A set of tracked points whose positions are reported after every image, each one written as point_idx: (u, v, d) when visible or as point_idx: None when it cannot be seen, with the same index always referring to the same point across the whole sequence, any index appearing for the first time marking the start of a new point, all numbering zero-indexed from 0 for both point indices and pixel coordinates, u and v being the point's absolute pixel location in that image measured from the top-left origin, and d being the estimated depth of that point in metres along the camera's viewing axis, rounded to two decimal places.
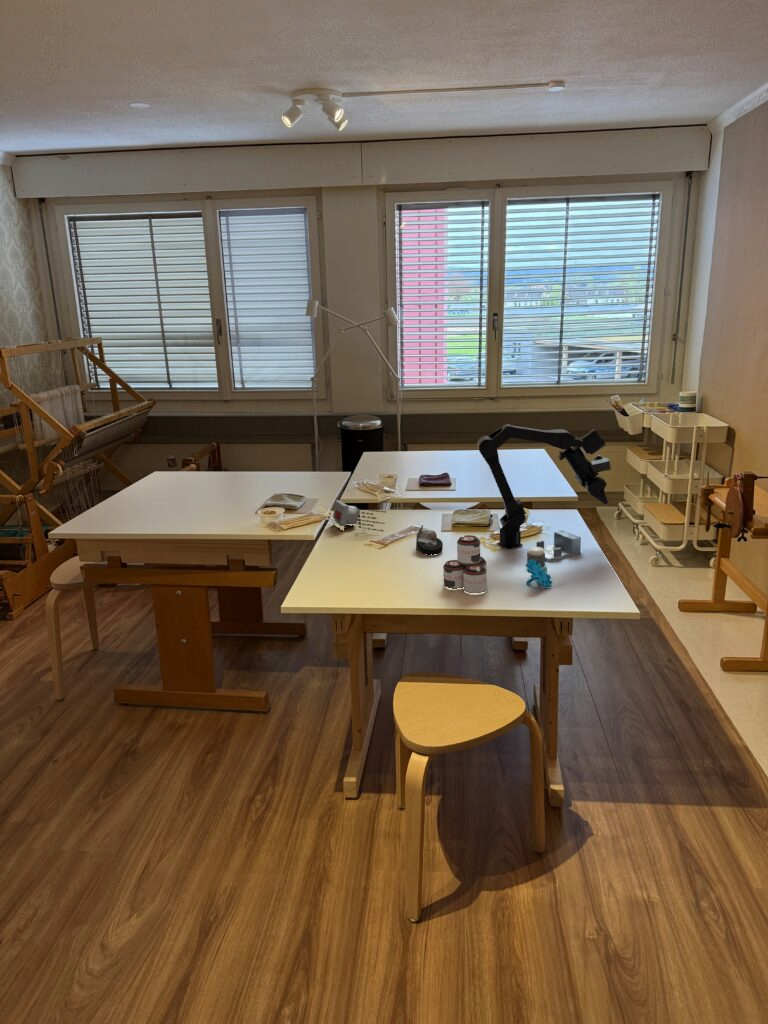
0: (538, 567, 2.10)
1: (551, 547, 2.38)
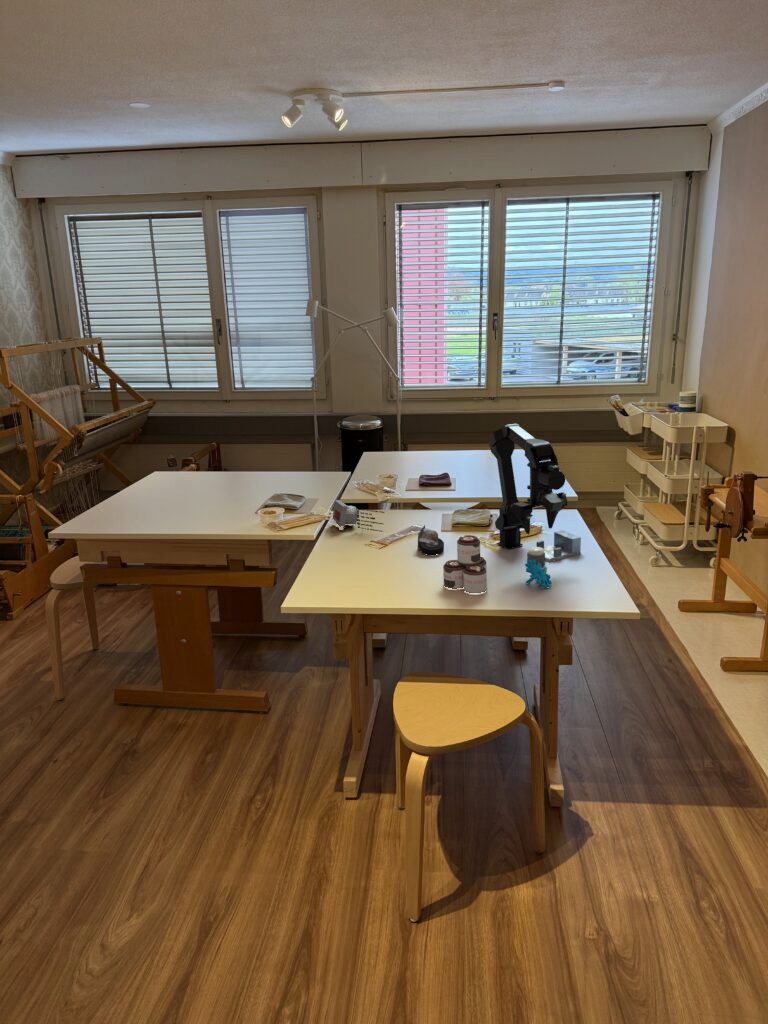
0: (538, 567, 2.10)
1: (551, 547, 2.38)
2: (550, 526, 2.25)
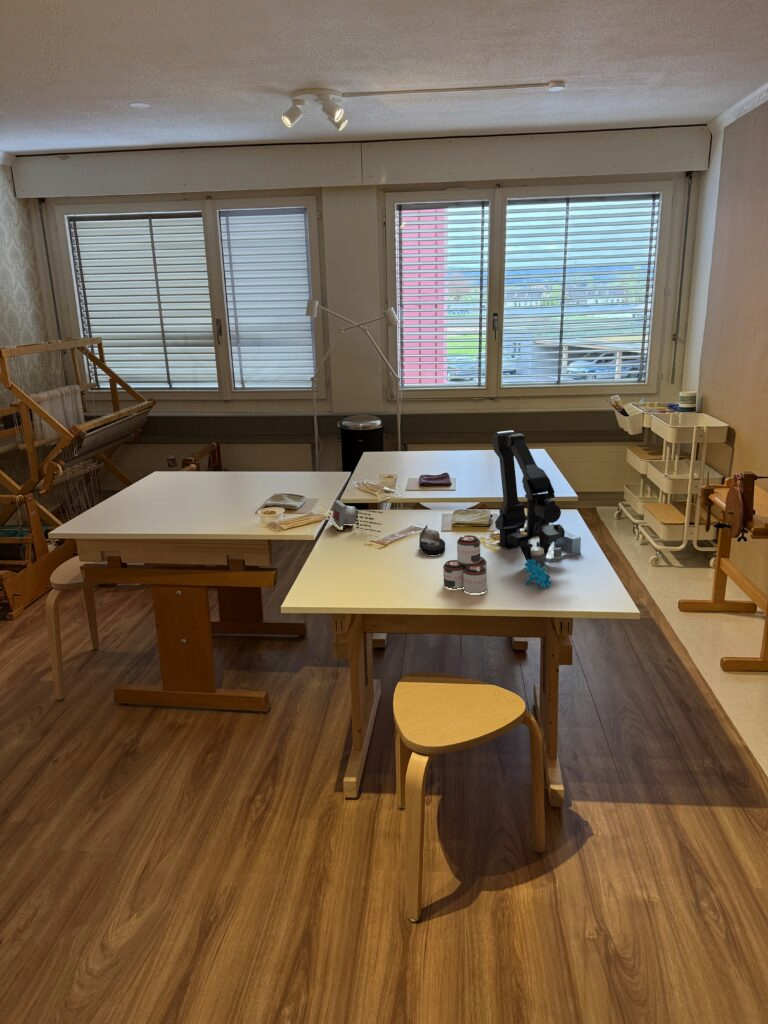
0: (537, 567, 2.11)
1: (551, 547, 2.38)
2: None
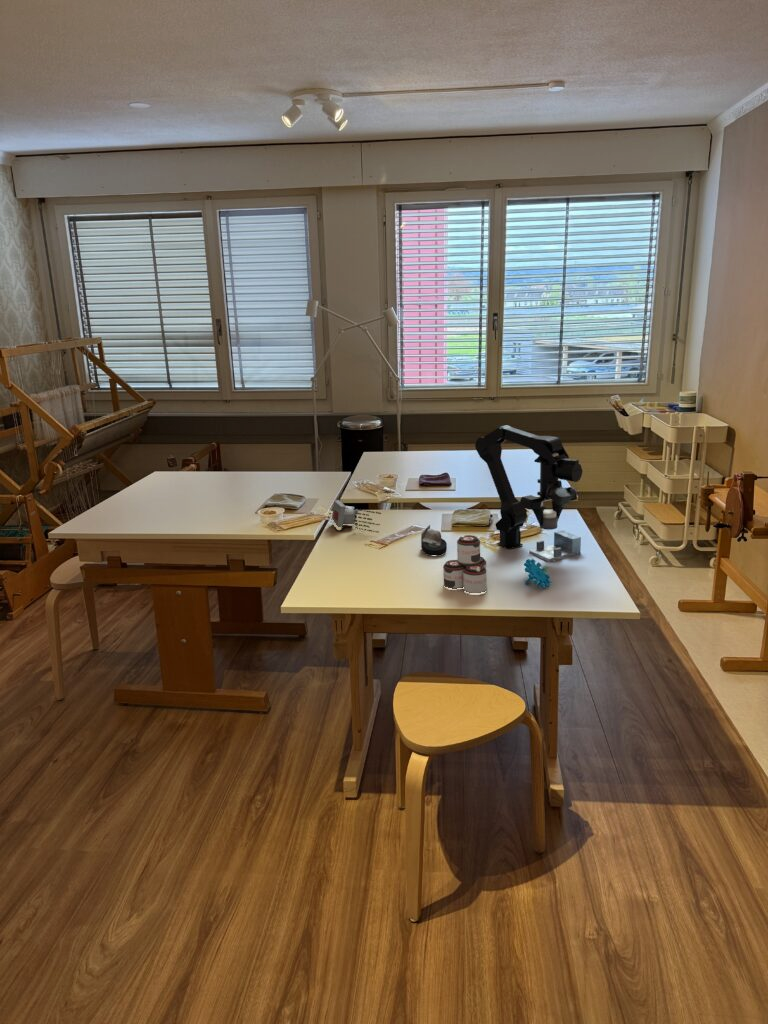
0: (537, 567, 2.11)
1: (551, 547, 2.38)
2: None
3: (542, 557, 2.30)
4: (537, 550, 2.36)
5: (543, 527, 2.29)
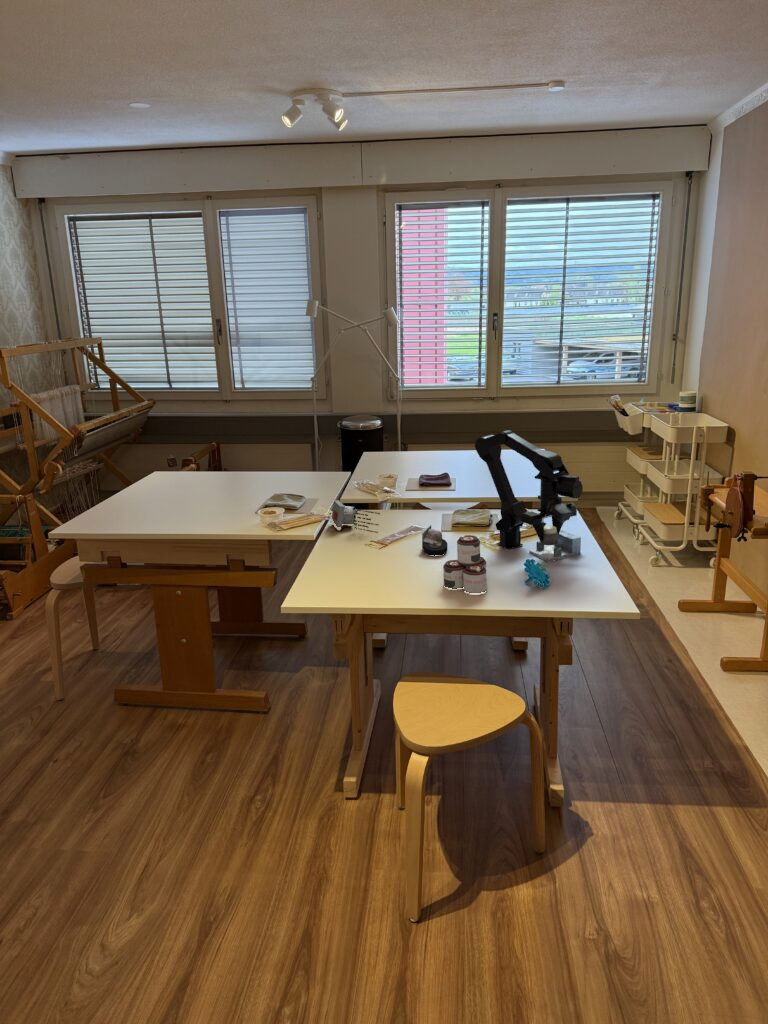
0: (537, 567, 2.11)
1: (551, 547, 2.38)
2: None
3: (542, 557, 2.30)
4: (537, 550, 2.36)
5: (543, 543, 2.31)
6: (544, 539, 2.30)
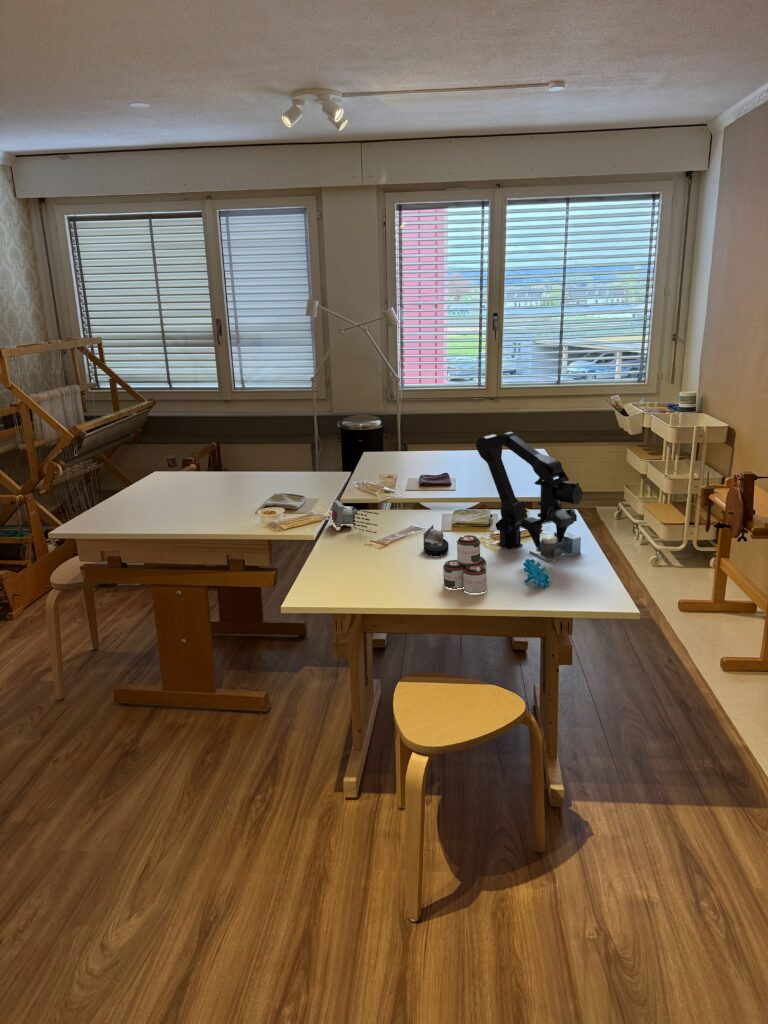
0: (536, 566, 2.11)
1: None
2: (559, 540, 2.34)
3: (542, 557, 2.30)
4: (537, 550, 2.36)
5: (544, 552, 2.31)
6: (544, 549, 2.31)
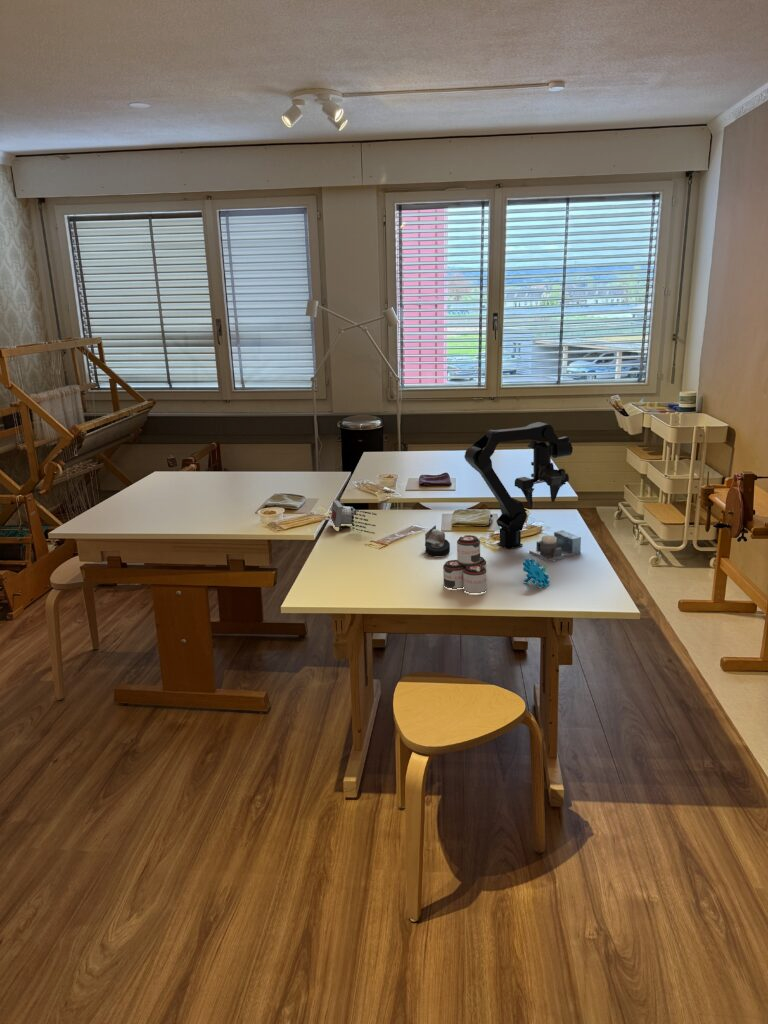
0: (536, 566, 2.11)
1: None
2: (552, 500, 2.46)
3: (542, 557, 2.30)
4: (537, 550, 2.36)
5: (544, 552, 2.31)
6: (544, 549, 2.31)
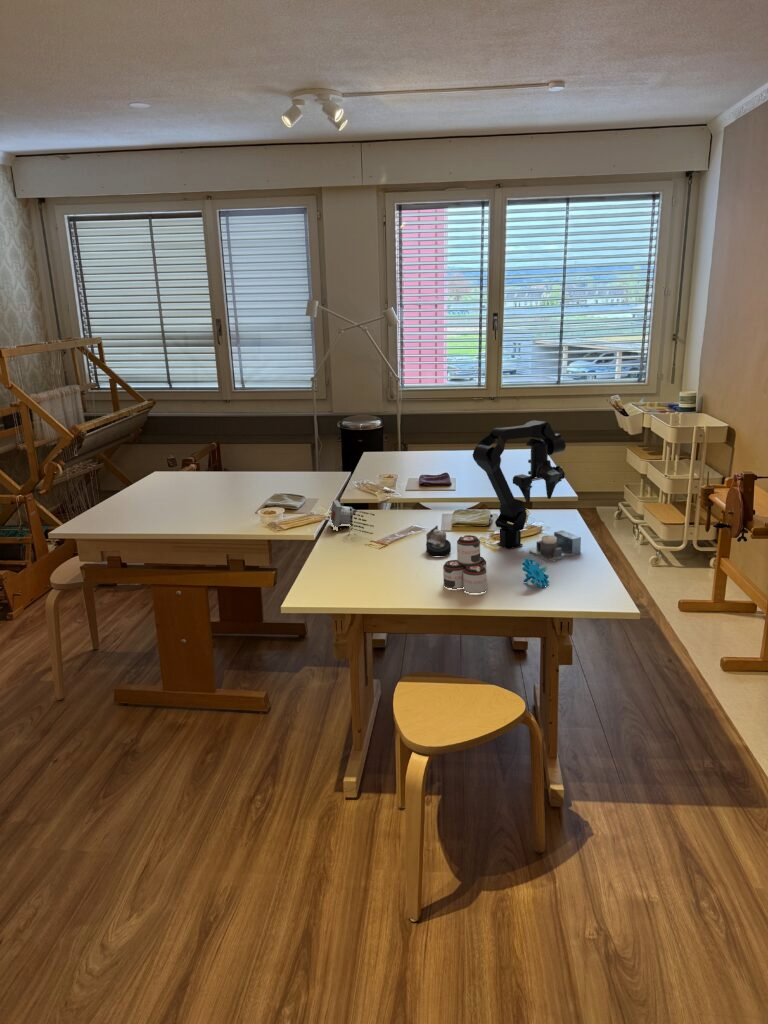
0: (536, 566, 2.11)
1: None
2: (549, 497, 2.50)
3: (542, 557, 2.30)
4: (537, 550, 2.36)
5: (544, 552, 2.31)
6: (544, 549, 2.31)
